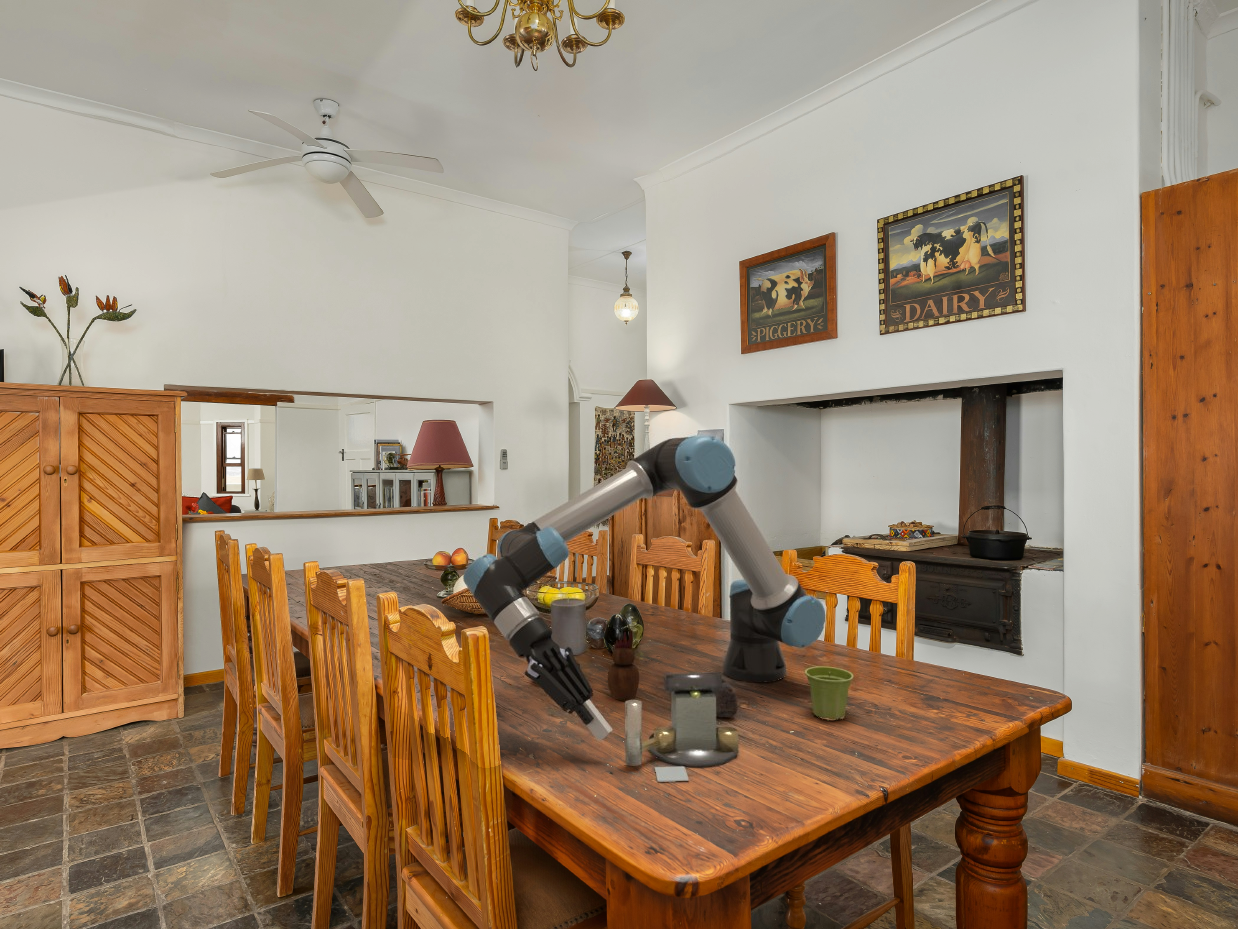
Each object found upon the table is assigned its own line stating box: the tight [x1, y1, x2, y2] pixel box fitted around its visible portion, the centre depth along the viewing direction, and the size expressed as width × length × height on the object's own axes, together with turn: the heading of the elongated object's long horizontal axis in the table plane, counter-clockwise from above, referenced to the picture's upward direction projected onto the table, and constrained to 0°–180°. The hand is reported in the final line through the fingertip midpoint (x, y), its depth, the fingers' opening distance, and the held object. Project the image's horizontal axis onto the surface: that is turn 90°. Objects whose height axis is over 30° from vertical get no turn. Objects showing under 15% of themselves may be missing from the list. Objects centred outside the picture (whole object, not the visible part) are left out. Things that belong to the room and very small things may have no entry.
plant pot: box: [804, 666, 854, 720], centre depth 137 cm, size 9×9×9 cm
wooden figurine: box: [607, 629, 640, 701], centre depth 148 cm, size 7×6×15 cm
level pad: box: [654, 766, 690, 783], centre depth 111 cm, size 5×5×1 cm
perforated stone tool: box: [713, 677, 739, 718], centre depth 141 cm, size 15×5×7 cm, turn 7°
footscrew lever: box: [624, 699, 675, 767], centre depth 116 cm, size 10×4×10 cm, turn 129°
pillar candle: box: [550, 596, 588, 656], centre depth 187 cm, size 10×10×15 cm
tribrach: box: [648, 671, 739, 768], centre depth 122 cm, size 16×16×13 cm
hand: (605, 736), depth 116 cm, fingers closed
